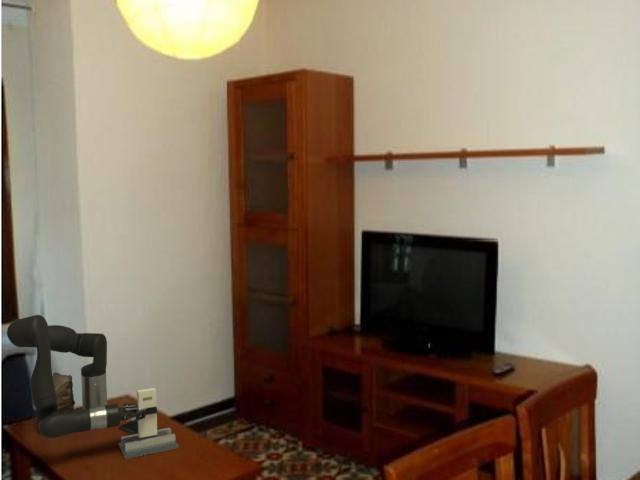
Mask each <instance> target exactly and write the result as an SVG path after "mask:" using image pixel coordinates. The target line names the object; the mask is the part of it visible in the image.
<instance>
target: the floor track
mask: <svg viewBox="0 0 640 480" xmlns="http://www.w3.org/2000/svg"><path fill="white" fill-rule="evenodd" d="M179 446H180V445H179V443H177V441H176V434H175V433H172V429H171V427H165V428H161V429H158V430H157V435H153V436H147V437H142V438H139V436H138V434H134V435H132V434H130V435H125V436H121V437H120V442H119V443H118V447H119V450H120V451H121V453H122V455H123V458H124V459H125V460H130V459H133V458H134V457H135V458H139V457H143V455H144V456H148V454H149V455H152V454H153V453H154V454H157V453H162V452H167V451H172V450H177V449H179ZM138 456H139V457H138ZM135 458H134V459H135Z"/></svg>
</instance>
